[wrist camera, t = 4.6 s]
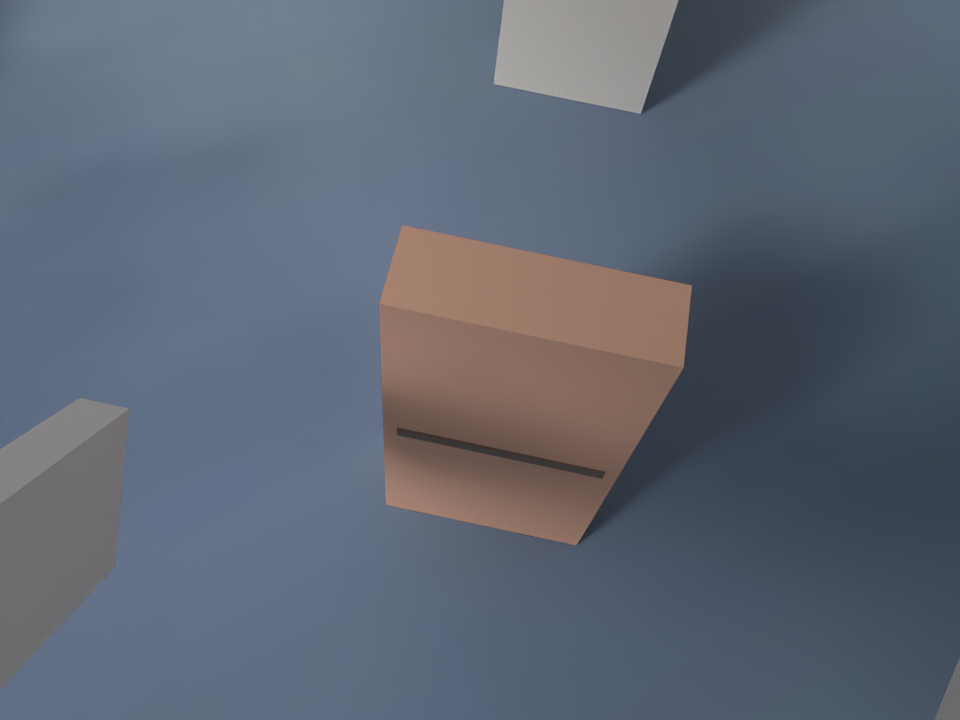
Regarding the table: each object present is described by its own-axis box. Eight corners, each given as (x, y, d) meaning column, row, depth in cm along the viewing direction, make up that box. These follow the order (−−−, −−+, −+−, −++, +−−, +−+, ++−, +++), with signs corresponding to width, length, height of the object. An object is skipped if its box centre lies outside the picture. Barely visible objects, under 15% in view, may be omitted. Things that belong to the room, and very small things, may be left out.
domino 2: (576, 547, 24) (682, 369, 15) (385, 506, 24) (378, 306, 15) (585, 485, 24) (692, 283, 16) (400, 446, 24) (402, 222, 16)
